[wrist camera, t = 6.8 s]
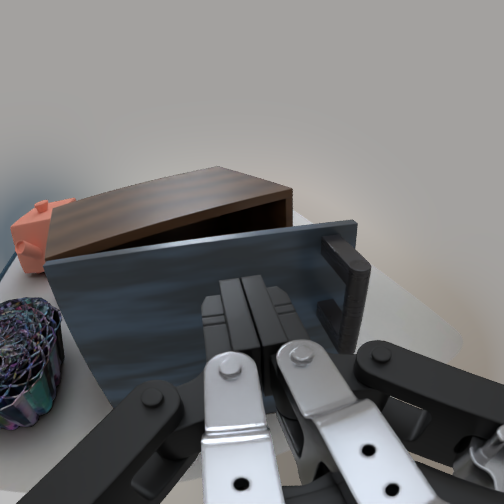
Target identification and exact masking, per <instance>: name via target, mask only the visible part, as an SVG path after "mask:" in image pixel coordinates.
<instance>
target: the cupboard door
mask: <svg viewBox="0 0 504 504" xmlns="http://www.w3.org/2000/svg"><path fill="white" fill-rule="evenodd" d="M357 225H358V224H357V223H356V222H355V221H354V220H346V221H336V222H327V223H319V224H310V225H302V226H293V227H285V228H277V229H269V230H260V231H253V232H245V233H237V234H229V235H222V236H214V237H206V238H199V239H192V240H184V241H177V242H170V243H163V244H156V245H149V246H142V247H135V248H128V249H121V250H115V251H108V252H101V253H95V254H88V255H82V256H76V257H69V258H63V259H57V260H51V261H46V262H45V264H44V265H43V269H44V271H45V274H46V277H47V279H48V282H49V284H50V287H51V289H52V292H53V294H54V297H55V299H56V301H57V304H58V306H59V308H60V311H61V313H62V315H63V317H64V319H65V322H66V324H67V326H68V328H69V330H70V332H71V334H72V336H73V338H74V340H75V342H76V344H77V346H78V348H79V350H80V352H81V354H82V356H83V358H84V359H85V361H86V363H87V365H88V367H89V369H90V370H91V372H92V374H93V376H94V377H95V379H96V381H97V382H98V384H99V386H100V387H101V389H102V391H103V392H104V394H105V396H106V397H107V399H108V400H109V402H110V404H111V405H112V407H113V408H115V407H116V406H117V405H118V404H119V403H120V402H121V401H122V400H123V399H124V398H125V397H126V396H127V395H128V394H129V393H130V392H131V391H132V390H133V389H134V388H135V387H137V386H138V385H139V384H141V383H143V382H146V381H150V380H163V381H167V382H169V383H171V384H173V385H174V386H175V387H177V386H179V385H182V384H184V383H187V382H189V381H191V380H193V379H195V378H196V377H197V376H198V375H200V373H201V372H202V371H203V369H204V368H205V365H206V351H205V342H204V333H203V323H202V313H201V305H202V303H203V301H204V299H205V297H206V296H214V295H220V289H219V280H227V279H234V278H239V279H240V278H241V277H247V276H254V275H261V276H262V278H263V281H264V283H265V285H266V288H268V287H274V286H278V287H279V288H280V289H282V290H283V291H285V292H286V293H287V294H288V296H289V298H290V300H291V302H292V304H293V306H294V308H295V310H296V312H297V314H298V316H299V318H300V320H301V322H302V324H303V325H304V327H305V329H306V331H307V333H308V335H309V337H310V339H311V341H313V342H316V343H318V344H319V345H321V346H322V347H323V348H324V349H325V351H326V352H328V353H333V354H353V353H354V352H355V349H356V345H357V340H358V336H359V331H360V327H361V322H362V317H363V312H364V307H365V301H366V296H367V290H368V284H369V278H370V272H371V265H370V263H369V262H368V261H367V260H366V259H365V258H364V257H363V256H362V255H360V253H358V252H357V251H356V250H355V246H356V236H357ZM262 394H263V397H262V399H263V404H264V410H265V414H268V413H273V412H276V403H275V400H274V397H273V395H272V396H266V397H265V396H264V393H263V389H262Z"/></svg>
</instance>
